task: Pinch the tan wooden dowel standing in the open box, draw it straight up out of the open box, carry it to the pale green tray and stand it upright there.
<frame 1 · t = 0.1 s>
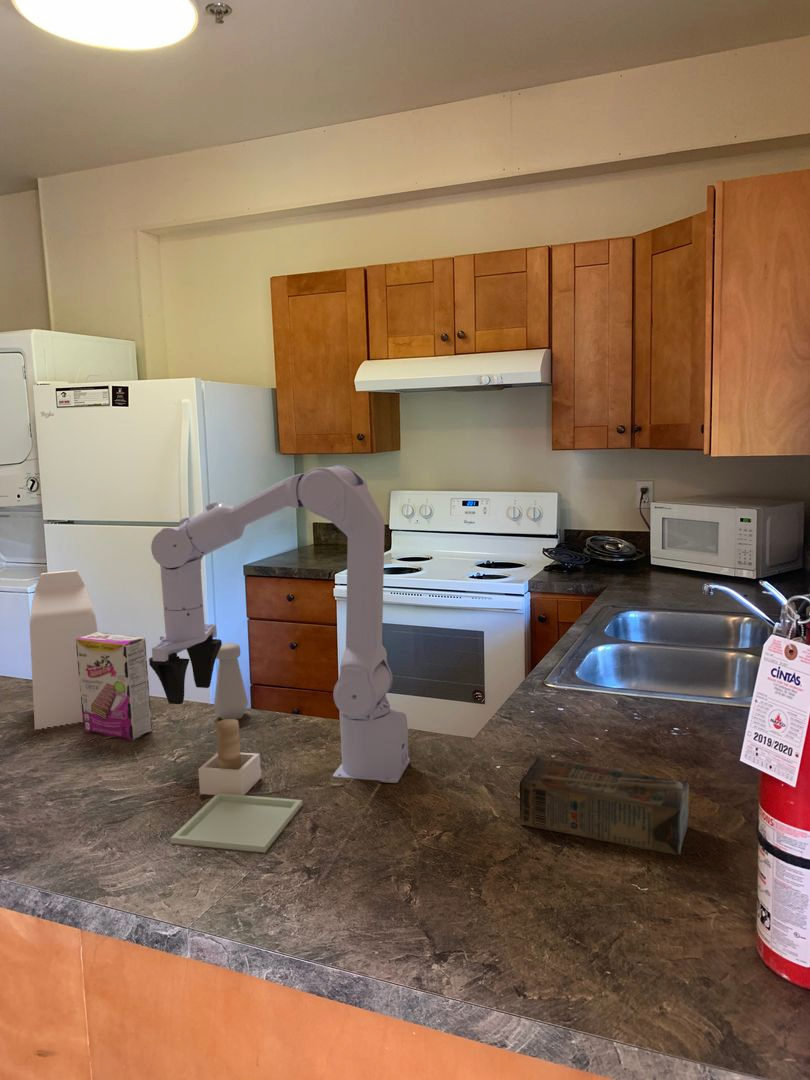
hand: (189, 695, 119), 10 cm above the table, tool pointing down, fingers open, 7 cm apart
open box: (231, 788, 109), on the table
milk: (72, 714, 143), on the table
dowel: (231, 785, 109), resting on open box
candy bar box: (117, 733, 133), on the table
salt shaker: (231, 717, 139), on the table
tray: (239, 827, 98), on the table
beverage carton: (603, 829, 96), on the table
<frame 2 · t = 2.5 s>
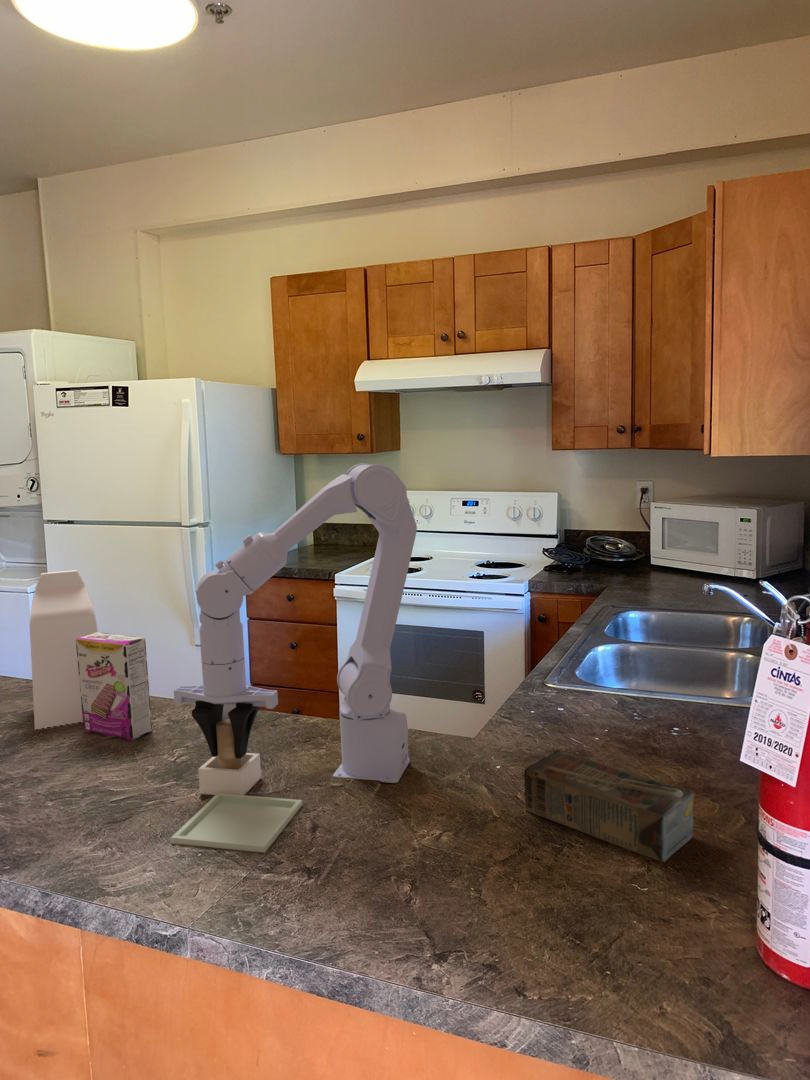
hand: (229, 754, 109), 5 cm above the table, tool pointing down, fingers closed on dowel, 3 cm apart
dowel: (231, 785, 109), point 1 cm above the table, touching open box, gripper
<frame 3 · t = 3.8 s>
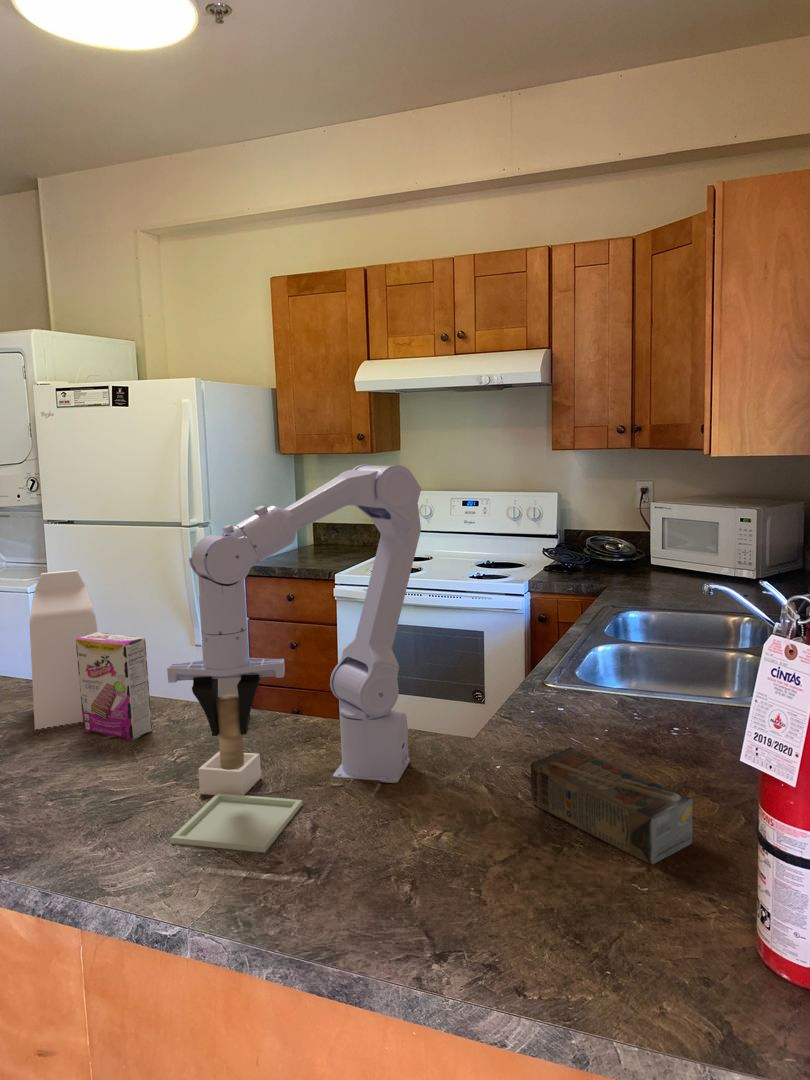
hand: (230, 732, 102), 10 cm above the table, tool pointing down, fingers closed on dowel, 3 cm apart
dowel: (232, 765, 103), point 6 cm above the table, touching gripper
when the fingers open (5 cm above the table, at t = 5.4 s): dowel stays where it is, resting on tray.
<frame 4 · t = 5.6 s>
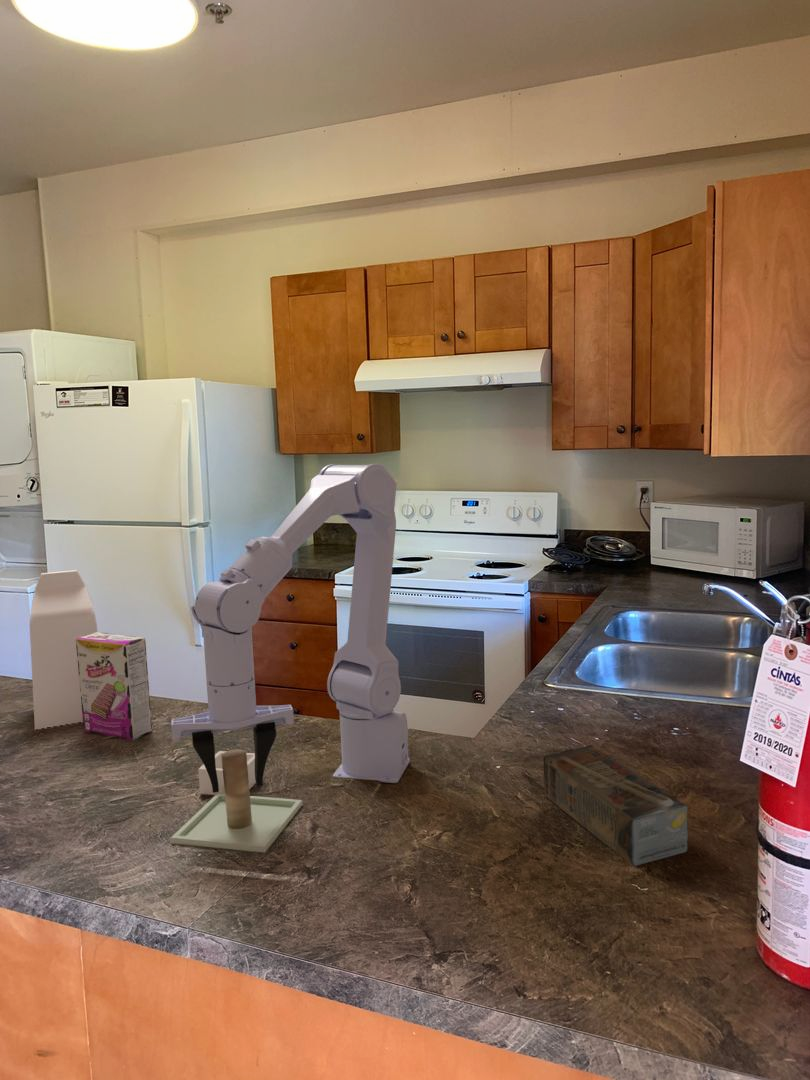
hand: (237, 785, 98), 5 cm above the table, tool pointing down, fingers open, 5 cm apart
dowel: (239, 822, 98), point 1 cm above the table, touching tray
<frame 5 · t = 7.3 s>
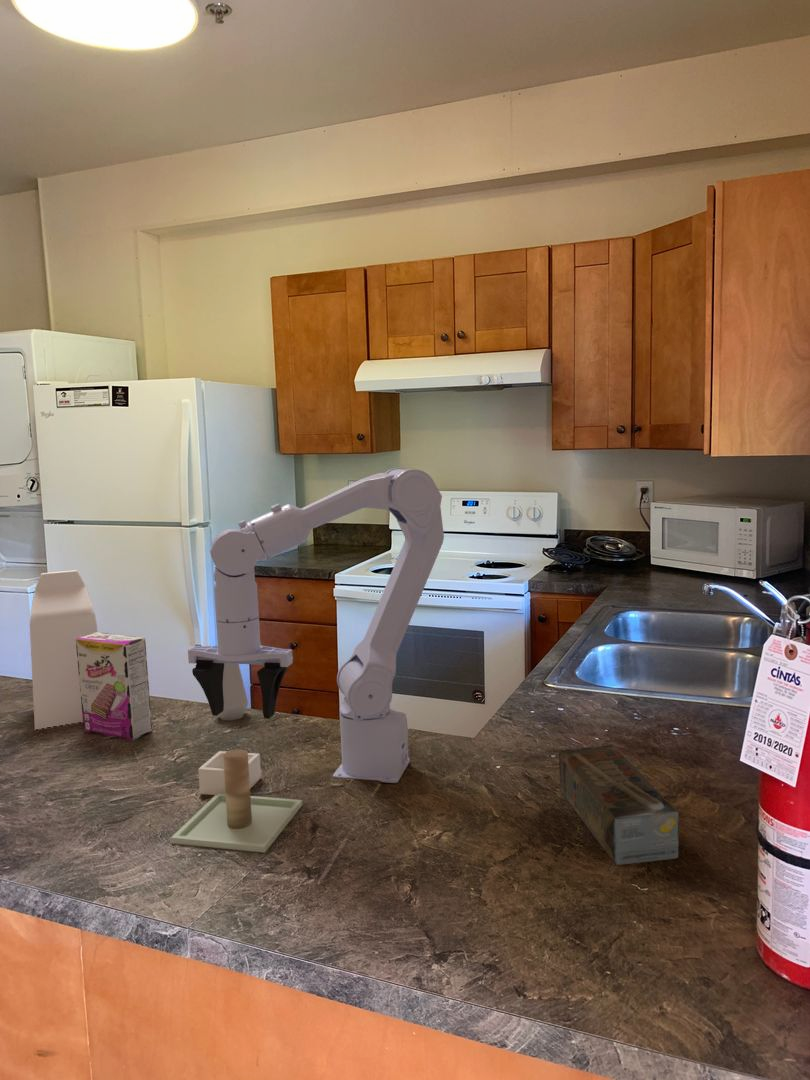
hand: (243, 714, 109), 10 cm above the table, tool pointing down, fingers open, 7 cm apart
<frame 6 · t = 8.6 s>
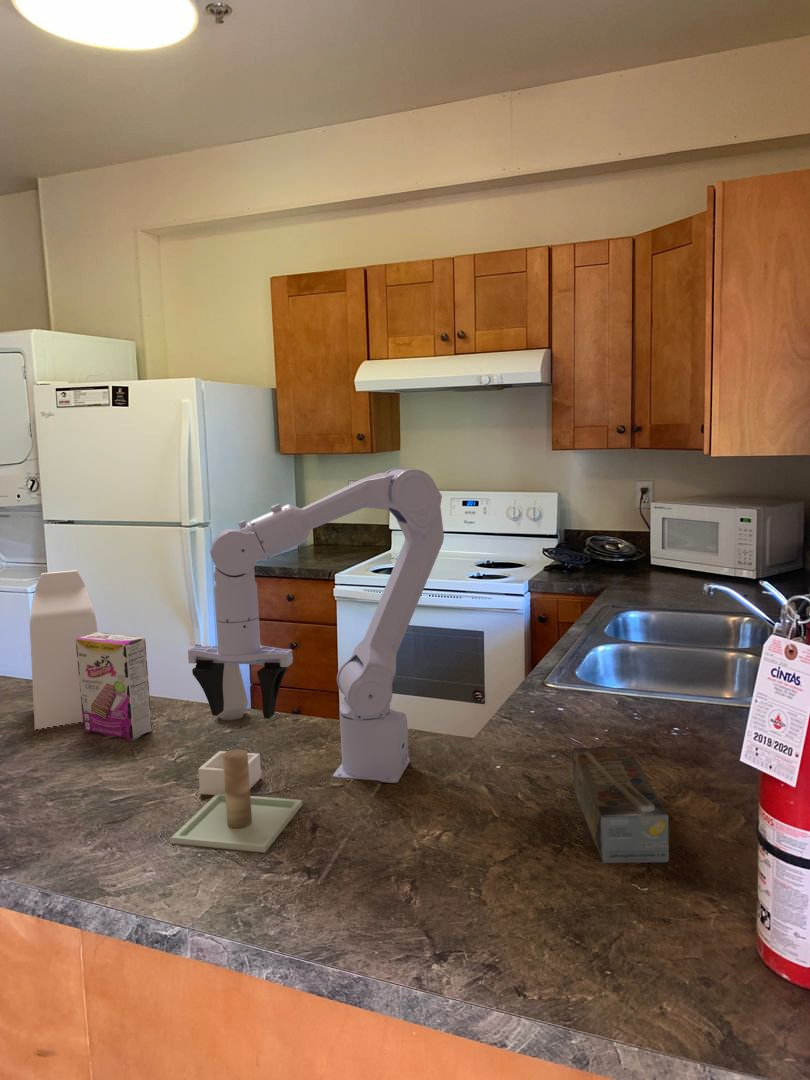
hand: (243, 714, 109), 10 cm above the table, tool pointing down, fingers open, 7 cm apart
at the end: dowel inside the target area on the tray (0.1 cm from its centre), point 0.5 cm above the tray's base; dowel tilted 0°; the gripper is holding nothing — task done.
